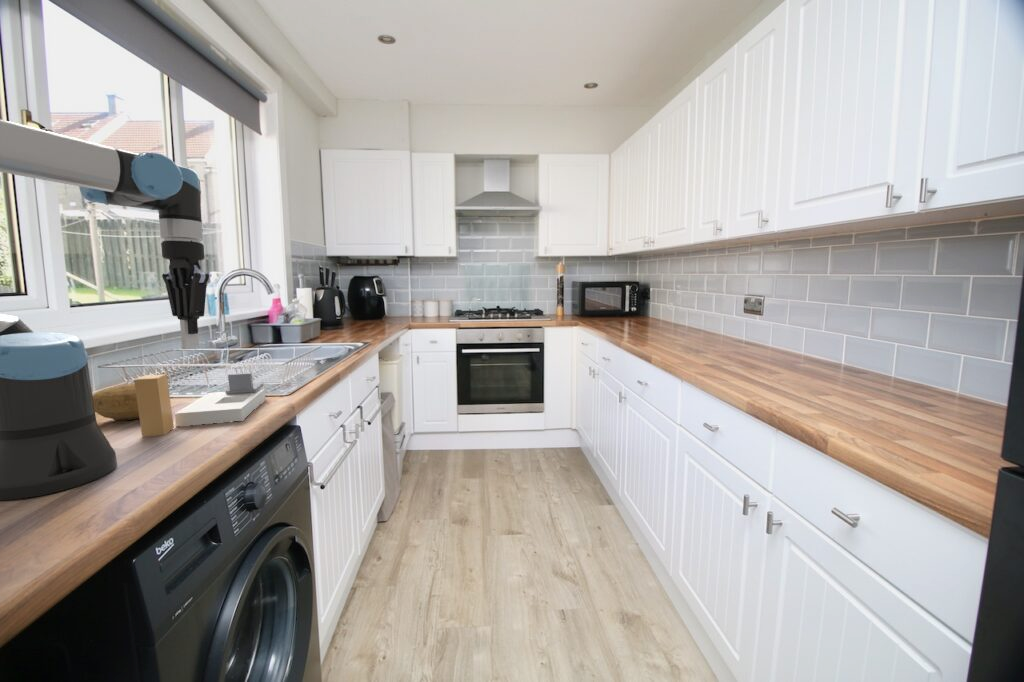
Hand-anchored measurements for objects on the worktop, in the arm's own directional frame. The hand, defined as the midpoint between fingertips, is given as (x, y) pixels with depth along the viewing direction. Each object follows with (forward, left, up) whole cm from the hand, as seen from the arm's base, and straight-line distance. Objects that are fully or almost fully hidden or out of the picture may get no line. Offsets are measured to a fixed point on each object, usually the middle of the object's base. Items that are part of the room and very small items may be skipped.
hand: (190, 348), depth 100 cm
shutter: (+13, -6, -13) cm, 20 cm away
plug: (-7, +5, -17) cm, 19 cm away
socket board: (+5, -4, -17) cm, 18 cm away
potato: (+6, +16, -17) cm, 24 cm away
